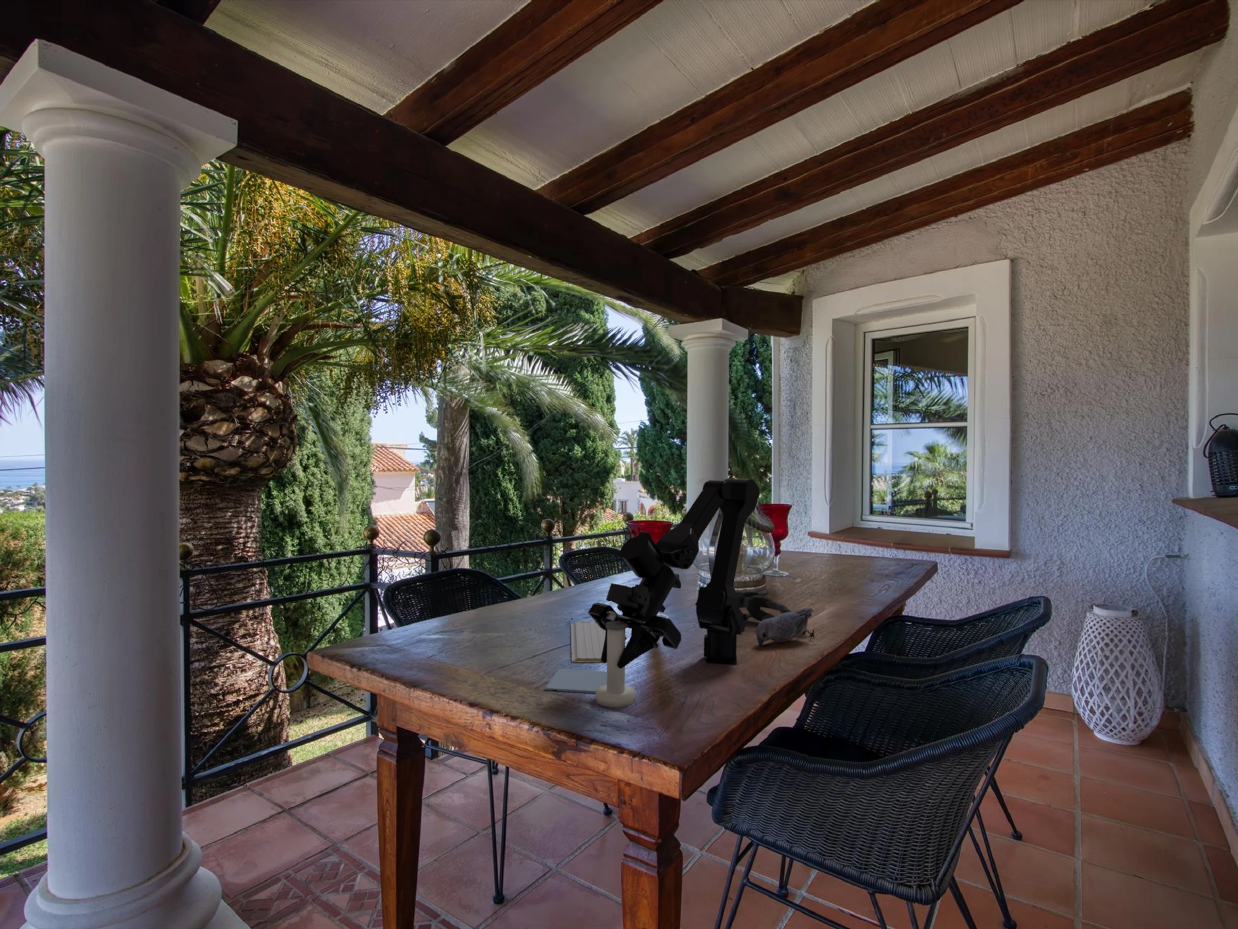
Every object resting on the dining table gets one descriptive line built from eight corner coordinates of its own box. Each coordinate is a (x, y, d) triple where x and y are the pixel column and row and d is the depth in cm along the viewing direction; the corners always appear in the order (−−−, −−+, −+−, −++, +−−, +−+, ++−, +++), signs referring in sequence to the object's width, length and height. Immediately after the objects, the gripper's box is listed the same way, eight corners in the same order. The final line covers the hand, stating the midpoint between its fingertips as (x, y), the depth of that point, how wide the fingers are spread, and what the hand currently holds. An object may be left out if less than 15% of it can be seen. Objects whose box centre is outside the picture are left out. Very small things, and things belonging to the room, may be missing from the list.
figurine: (799, 604, 159) (711, 574, 183) (790, 640, 159) (703, 605, 182) (825, 609, 166) (737, 580, 190) (816, 644, 165) (729, 610, 189)
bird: (750, 643, 153) (750, 611, 153) (802, 635, 161) (802, 605, 161) (765, 650, 149) (766, 617, 149) (818, 641, 156) (818, 610, 156)
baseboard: (564, 665, 138) (612, 664, 139) (564, 651, 138) (612, 651, 139) (565, 627, 168) (604, 627, 169) (565, 616, 168) (604, 616, 169)
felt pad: (612, 673, 131) (612, 671, 131) (604, 693, 120) (604, 691, 120) (558, 670, 132) (558, 668, 132) (545, 690, 121) (545, 688, 121)
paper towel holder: (637, 694, 120) (638, 619, 120) (632, 708, 113) (633, 629, 113) (599, 691, 121) (600, 618, 121) (592, 706, 114) (593, 627, 114)
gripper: (595, 560, 126) (551, 628, 118) (672, 573, 113) (628, 650, 105) (622, 595, 132) (582, 662, 124) (698, 611, 119) (659, 687, 111)
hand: (610, 664), depth 116 cm, fingers open, 4 cm apart
